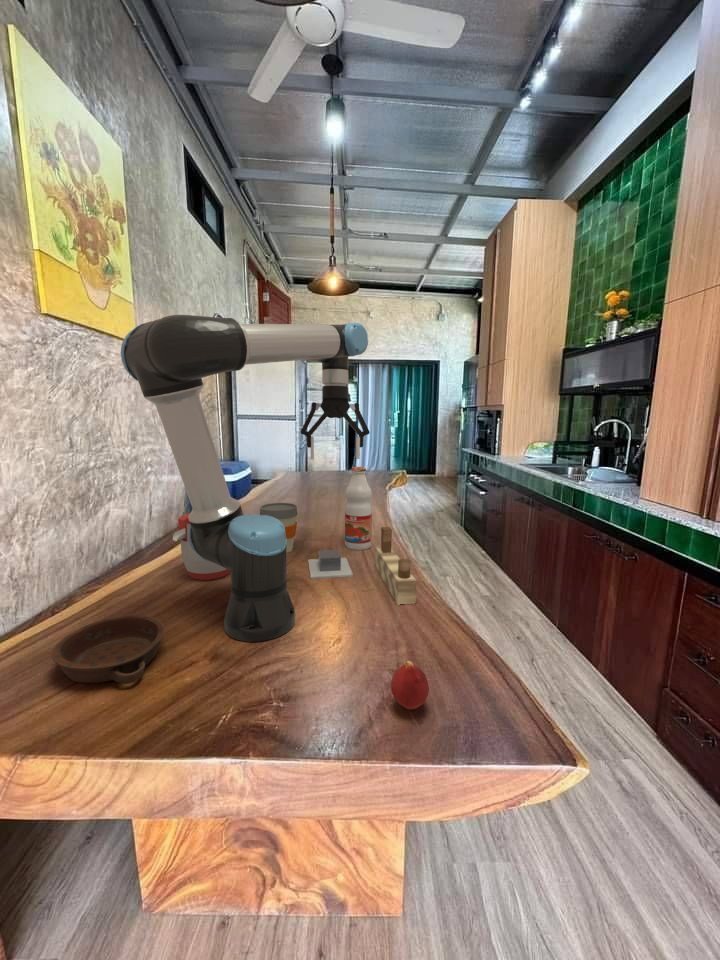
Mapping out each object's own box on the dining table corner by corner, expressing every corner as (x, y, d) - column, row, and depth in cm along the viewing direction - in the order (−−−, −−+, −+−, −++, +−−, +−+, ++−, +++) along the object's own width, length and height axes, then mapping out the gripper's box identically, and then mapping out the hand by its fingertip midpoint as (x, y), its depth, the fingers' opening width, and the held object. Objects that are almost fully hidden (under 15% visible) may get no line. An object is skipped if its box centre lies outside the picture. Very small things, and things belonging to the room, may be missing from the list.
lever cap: (340, 570, 118) (340, 557, 117) (320, 571, 117) (320, 558, 116) (337, 561, 124) (337, 549, 124) (318, 562, 123) (318, 550, 123)
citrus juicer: (167, 573, 116) (162, 505, 113) (225, 559, 127) (223, 497, 124) (186, 591, 104) (181, 516, 101) (248, 574, 116) (246, 506, 112)
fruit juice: (375, 544, 144) (377, 467, 139) (363, 552, 135) (364, 470, 131) (352, 540, 148) (353, 465, 143) (339, 547, 140) (340, 468, 135)
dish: (70, 718, 61) (67, 688, 60) (43, 657, 76) (40, 632, 75) (186, 667, 73) (184, 642, 72) (142, 623, 88) (141, 602, 87)
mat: (352, 576, 115) (352, 574, 115) (310, 579, 113) (310, 576, 113) (346, 559, 128) (346, 557, 128) (308, 561, 126) (308, 559, 126)
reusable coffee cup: (253, 553, 133) (252, 509, 131) (272, 542, 145) (271, 501, 143) (287, 557, 130) (286, 512, 127) (304, 545, 141) (303, 504, 139)
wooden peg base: (415, 603, 99) (417, 553, 97) (397, 605, 98) (399, 553, 96) (389, 565, 124) (390, 524, 122) (375, 566, 123) (376, 524, 121)
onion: (424, 695, 66) (425, 650, 65) (431, 721, 61) (433, 673, 59) (388, 695, 66) (390, 650, 65) (392, 721, 60) (394, 673, 59)
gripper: (374, 387, 122) (373, 457, 125) (291, 385, 118) (292, 457, 121) (380, 385, 115) (378, 459, 118) (291, 383, 110) (292, 460, 114)
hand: (335, 458), depth 120 cm, fingers open, 13 cm apart
